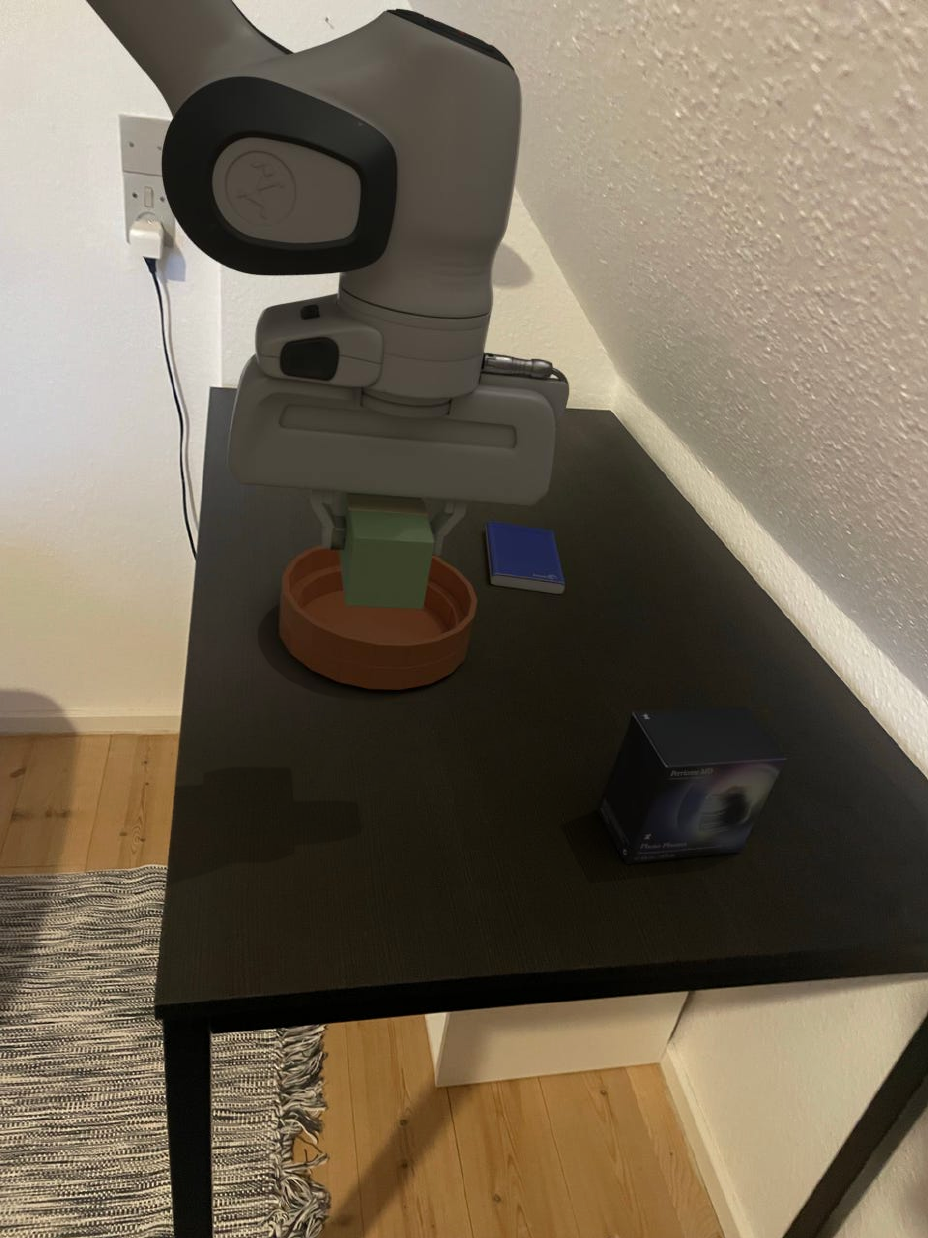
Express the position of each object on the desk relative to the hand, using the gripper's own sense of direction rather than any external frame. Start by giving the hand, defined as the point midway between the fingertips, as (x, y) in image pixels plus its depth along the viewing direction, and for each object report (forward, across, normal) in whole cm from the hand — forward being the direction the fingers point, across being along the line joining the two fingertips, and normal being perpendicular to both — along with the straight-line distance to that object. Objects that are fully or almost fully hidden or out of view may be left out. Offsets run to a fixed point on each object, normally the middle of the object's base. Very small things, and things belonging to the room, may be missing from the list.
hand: (380, 548), depth 63 cm
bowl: (+21, -4, -20) cm, 30 cm away
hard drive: (+21, -23, -36) cm, 48 cm away
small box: (+22, -25, +6) cm, 34 cm away
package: (+2, 0, 0) cm, 2 cm away
